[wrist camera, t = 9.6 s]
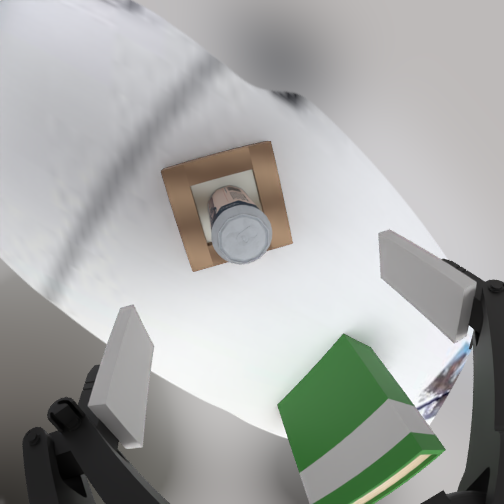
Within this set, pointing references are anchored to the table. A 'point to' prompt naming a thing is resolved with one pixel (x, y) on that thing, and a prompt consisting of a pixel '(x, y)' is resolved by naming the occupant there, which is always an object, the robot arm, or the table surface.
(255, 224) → the beer can
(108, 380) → the robot arm
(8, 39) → the table surface
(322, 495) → the hardback book
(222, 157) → the picture frame
